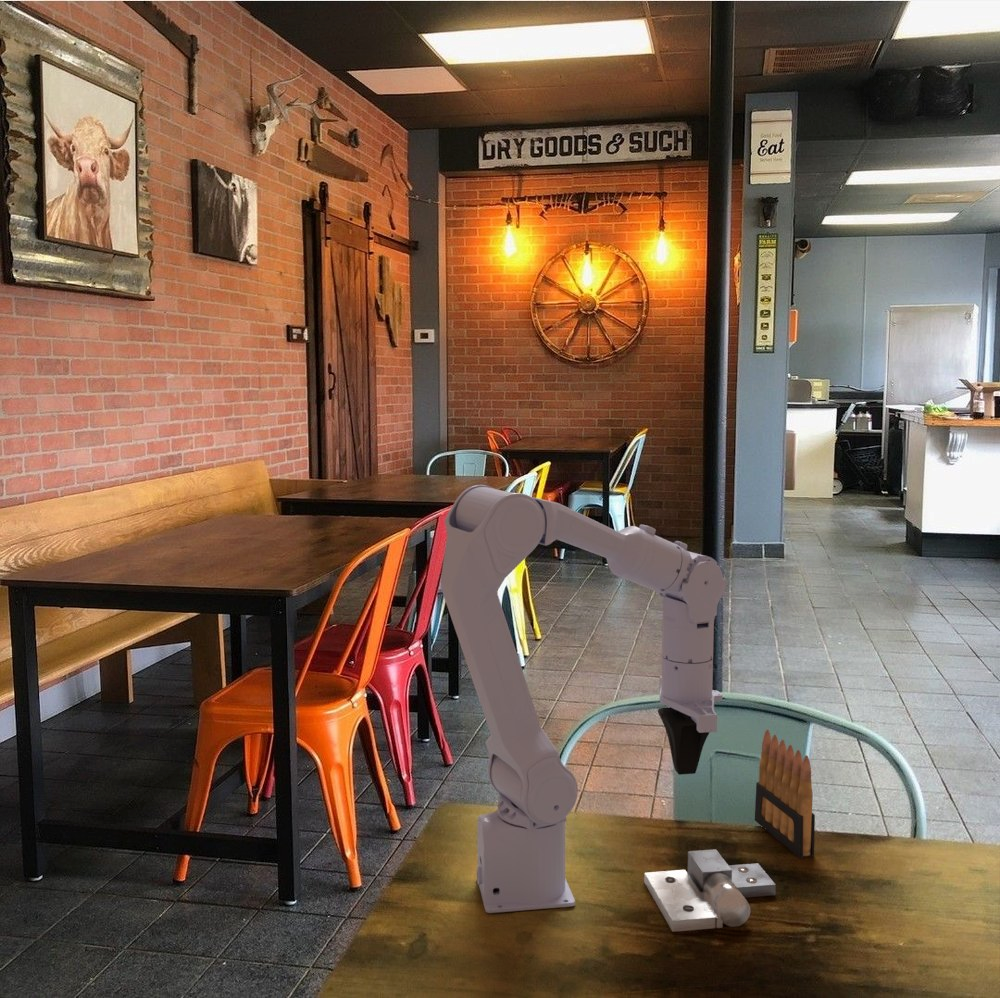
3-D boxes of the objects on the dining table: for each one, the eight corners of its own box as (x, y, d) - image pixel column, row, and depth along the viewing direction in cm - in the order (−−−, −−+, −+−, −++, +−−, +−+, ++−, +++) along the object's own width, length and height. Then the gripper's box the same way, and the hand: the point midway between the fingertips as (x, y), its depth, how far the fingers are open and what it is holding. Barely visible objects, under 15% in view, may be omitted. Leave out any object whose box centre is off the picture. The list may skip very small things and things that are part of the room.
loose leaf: (702, 901, 108) (702, 872, 107) (687, 879, 112) (688, 851, 112) (775, 895, 109) (776, 866, 109) (757, 873, 114) (758, 846, 113)
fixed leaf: (672, 932, 102) (673, 901, 102) (644, 883, 112) (644, 855, 111) (750, 925, 103) (750, 895, 103) (715, 877, 113) (715, 850, 113)
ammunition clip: (814, 857, 118) (818, 757, 116) (800, 859, 117) (803, 759, 116) (767, 818, 128) (770, 726, 126) (754, 820, 127) (756, 727, 126)
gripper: (745, 673, 109) (742, 795, 111) (699, 638, 123) (697, 747, 125) (681, 676, 108) (679, 799, 110) (643, 641, 122) (641, 750, 124)
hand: (685, 771), depth 117 cm, fingers closed
